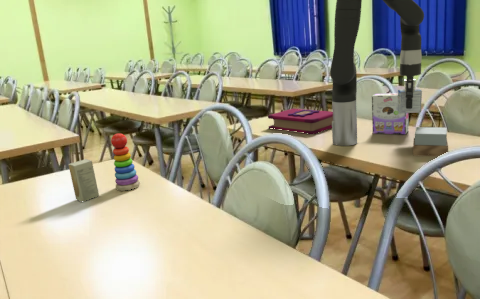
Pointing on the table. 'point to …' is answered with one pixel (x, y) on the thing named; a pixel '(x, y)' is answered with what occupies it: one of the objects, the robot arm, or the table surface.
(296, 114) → the book
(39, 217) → the table surface
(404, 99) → the medicine box
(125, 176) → the stacking toy
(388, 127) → the candy box
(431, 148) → the walnut base block
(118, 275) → the table surface
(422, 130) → the slate top block
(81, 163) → the skincare box
